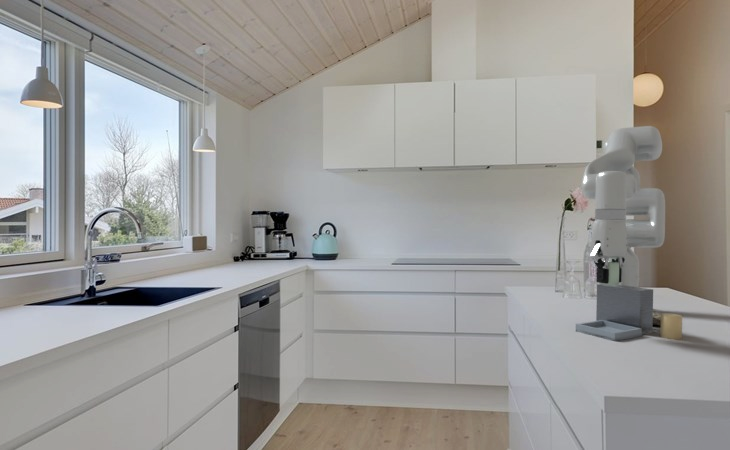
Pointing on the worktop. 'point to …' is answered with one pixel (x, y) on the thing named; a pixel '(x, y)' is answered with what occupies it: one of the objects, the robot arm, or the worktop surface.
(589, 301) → the worktop surface
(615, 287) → the panel
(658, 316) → the rock
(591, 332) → the tray
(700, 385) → the worktop surface
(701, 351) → the worktop surface
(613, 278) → the mint green rounded cylinder
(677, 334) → the tan rounded capsule
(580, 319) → the worktop surface
